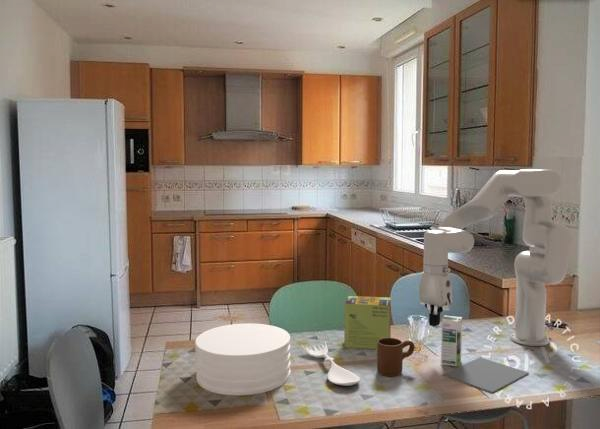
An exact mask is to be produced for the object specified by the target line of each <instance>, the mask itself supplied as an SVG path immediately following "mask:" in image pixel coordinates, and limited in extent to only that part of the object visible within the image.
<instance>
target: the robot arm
mask: <svg viewBox="0 0 600 429" xmlns="http://www.w3.org/2000/svg"><path fill="white" fill-rule="evenodd" d="M562 182H563V180H562V177H561V175H560V173H559V172H558V171H556V170H554V169H549V168H548V169H546V168H545V169H541V168H540V169H538V168H524V169H523V168H522V169H519V170H515V169H514V170H513V169H502V170H498V171H497V172H495V173H494V174H493V175H491V177H490V178H489V179H488V180H487V181H486V183H485V184H484V186H483V187H482V188H481V189H480V190H479V191H478V192H477V194H476V195H475V196H474V197H473V198H472V199H471V200H470V201H468V202H466V203H464V204H463V205H462V206H460V207H458V208H456V209H455V210H454V211H452V212H451V213H449V214H448V215H447V216H446V217H445V218H444V219H443V220H442V221H441V223H440V224H439V225H438V227H437V228H436V229H430V230H429V229H428V230H427V231H425V232H424V233H423V260H422V262H423V266H422V267H423V269H422V270H423V271H422V272H421V275H420V280H419V290H418V297H419V301H420V302H419V303H420V305H422V306H424V307H425V308H426V310H427V313H428V314H429V315H428V316H429V317H428V318H429V320H428V321H429V323H428V324H429V326H430V327H433V328H434V327H437V326H440V322H441V314H442V313H443V312H444V311H447V312H448V311H449V310H451V306H450V305H452V304H453V302H454V301H453V297H454V296H453V285H452V278H451V274H450V272H451V268H450V267H449V253H452V254H466V253H468V252H470V251H471V250H472V249H474V245H475V238H474V236H473V234H472V233H471V232H469V231H467V230H466V229H465V230H464V228H466V227H468V226H470V225H472V224H475V223H479V222H483V221H486V220H489V219H491V218H493V217H494V216H495V215H496V214H497V212H498V211H499V210H501V208H502V207H503V205H504V204H505V203H506V202H507V201H508V199H509V198H510V197H517V198H518V197H519V198H522V199H523V201H524V205H525V210H524V211H525V212H524V219H523V227H522V228H523V229H522V241H523V243H524V244H525V245H526V246H529V247H532V248H535V249H540V250H544V252H539V251H535V250H525V251H524V250H523V251H521V252H520V253H518V254H517V255H516V256H515V259H514V262H513V263H514V267H513V268H514V273H515V278H516V280H515V281H516V296H515V297H516V298H515V299H516V301H515V327H514V328H515V329H514V332H512V333H510V336H509V338H510V340H512V341H513V342H514V343H517V344H520V345H523V346H528V347H542V346H547V345H549V344H550V338H549V337H548V336H547V335H545V334H546V333H545V332H546V331H548V330H549V326H548V325H546V317H547V315H546V314H547V288H546V285H545V284H549V285H557V284H560V283H562V281H564V279H566V278H565V277H566V275H567V271H568V268H569V267H568V266H569V261H570V253H571V252H570V250H571V245H572V244H571V242H572V238H571V232H570V230H569V228H568V227H567V226H566V225H565V224H562V223H561V222H555V221H554V222H553V220H552V219H553V203H552V200H551V197H550V196H554V195H555V194H557V193H558V192H559V191H560V189H561V187H562Z"/></svg>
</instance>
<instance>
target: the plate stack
mask: <svg viewBox="0 0 600 429" xmlns="http://www.w3.org/2000/svg"><path fill="white" fill-rule="evenodd" d="M194 342H195V356H196V357H195V364H196V365H195V367H196V368H195V371H196V374H195V375H196V376H195V377H196V382H197V384H198V385H199V386H200V387H201V388H203V389H205V390H206V391H208V392H210V393H214V394H218V395H219V394H220V395H225V396H251V395H256V394H262V393H266V392H270V391H272V390H275V389H277V388H280V387H282V385H284V384H286V383H287V382H288V381H289V380H290V377H291V372H292V371H291V335H290V333H289V332H288V331H287V330H285V329H284V328H281V327H279V326H275V325H272V324H270V325H269V324H264V323H249V322H248V323H234V324H226V325H220V326H218V327H212V328H210V329H208V330H206V331H204V332H201V333H200V334H199V335H197V337H196V338H195V341H194Z"/></svg>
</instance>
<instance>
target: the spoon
mask: <svg viewBox="0 0 600 429" xmlns="http://www.w3.org/2000/svg"><path fill="white" fill-rule="evenodd" d="M300 346H301V349H303V350H304V351H305V352H306V353H307V354H308V355H310V356H311V357H314V358H318V359H323V358H325V359H324V362H327V363H329V364H330V365H331V366H330V369H329V370H328V372H327V375H326V378H327V380H328V381H329V382H330V383H332V384H334V385H338V386H344V387H345V386H346V387H349V386H354V385H356V384H358V383H359V382H360V381H361V377H360V376H358V374H356V373H355V372H352V371H351V370H347V369H346V368H343V367H341V365H338V364H336V363H335V358H334V357H331V356H329V355H328V353H329V348H328V345H327V342H326V341H323V343H320V345H319V344H317V346H315V345H312V347H311V346H310V345H306V344H305V346H304V345H303V344H302V343H301V344H300ZM312 348H313V349H312Z"/></svg>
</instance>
